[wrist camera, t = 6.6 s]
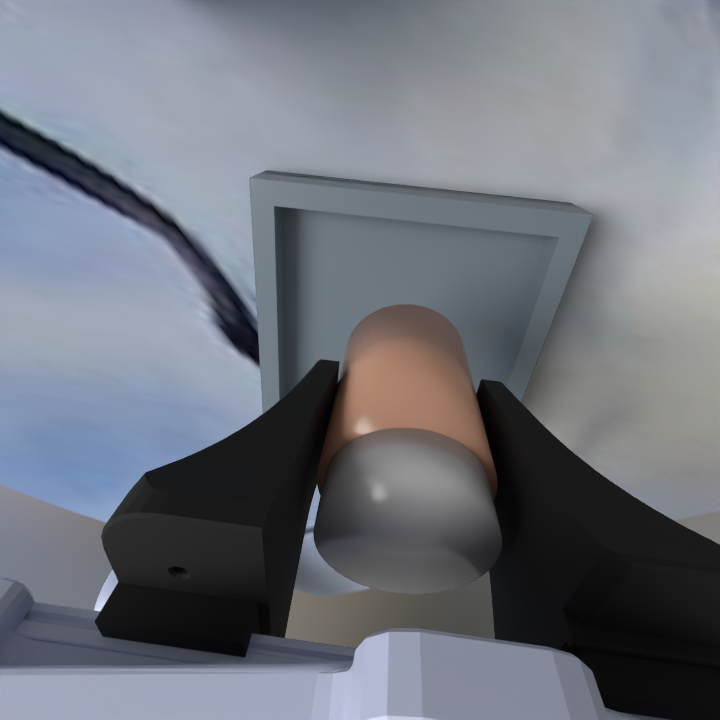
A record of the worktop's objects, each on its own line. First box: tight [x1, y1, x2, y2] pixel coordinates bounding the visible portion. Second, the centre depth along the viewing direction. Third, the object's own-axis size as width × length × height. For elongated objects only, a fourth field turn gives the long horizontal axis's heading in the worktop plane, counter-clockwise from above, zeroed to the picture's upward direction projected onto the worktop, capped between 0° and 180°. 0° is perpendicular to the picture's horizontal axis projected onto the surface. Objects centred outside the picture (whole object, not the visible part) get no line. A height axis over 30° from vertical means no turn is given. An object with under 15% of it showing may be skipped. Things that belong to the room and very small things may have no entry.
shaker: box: [313, 304, 502, 594], centre depth 12 cm, size 4×4×8 cm
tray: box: [249, 171, 593, 413], centre depth 21 cm, size 14×14×2 cm
